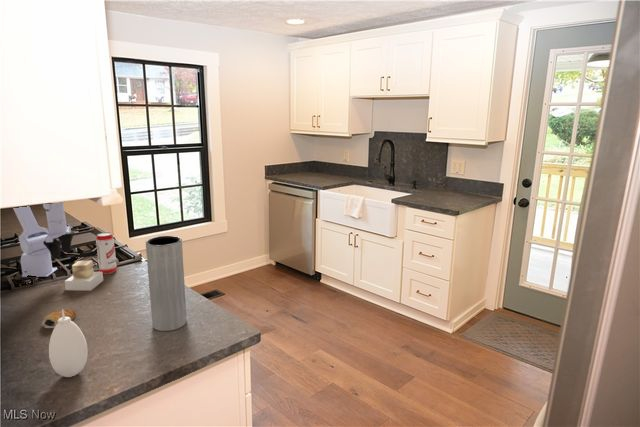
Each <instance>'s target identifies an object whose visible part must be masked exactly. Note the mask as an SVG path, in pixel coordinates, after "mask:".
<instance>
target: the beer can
mask: <svg viewBox="0 0 640 427" xmlns="http://www.w3.org/2000/svg"><path fill="white" fill-rule="evenodd" d="M95 243H96V244H95V245H96V253H97V261H98V272H102V273H103V275H111V274H113V273H115V272H116V271H117V269H118V267H117V258H116V249H115V247H116V246H115V239H114V236H113V235H112V232H111V231H110V232H109V231H106V232H100V233H97V234H96V238H95Z"/></svg>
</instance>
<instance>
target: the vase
mask: <svg viewBox="0 0 640 427" xmlns="http://www.w3.org/2000/svg"><path fill="white" fill-rule="evenodd" d="M145 253H146V262H147V263H146V264H147V266H146V267H147V276H148V289H149V290H148V291H149V299H150V301H149V302H150V313H151V324H152V327H153V329H155V330H156V331H160V332H170V331H174V330H178V329H180V328H181V327H183V326H185V324H187V304H186V288H185V286H186V285H185V271H184V270H185V269H184V253H183V240H182V238H181V237H180V236H175V235H160V236H159V235H158V236H154V237H151V238H149V239H147V240H146V241H145Z"/></svg>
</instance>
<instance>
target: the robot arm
mask: <svg viewBox="0 0 640 427" xmlns="http://www.w3.org/2000/svg"><path fill="white" fill-rule="evenodd" d="M42 207H43V209H45V214H46V219H47V220H46V221H47V228H48V229H47V228H45V227H43V226H40V225H39V224H38V221H37V220H36V218H35V216H34V213H33V211H32V209H31V207H30V205H29V206H27V207H19V208H13V207H12V209H13V211H14V213H15V216H16V217H17V219H18V221H19V224H20V226H21V227H22V230H23V231H22V232H21V234H20V235H19V236H18V241H19V243H20V244H19V246H20V249H21V251H22V252H23V253H22V254H21V255H20V256H21V257H20V266H21V273H22V275H21V277H22V278H28V277H27V276H28V275H32V276H36V277H35V278H37V277H38V278H39V277H49V276H50V275H52V274H54V272H56V271H57V270H58V267H53V263H52V259H53V260H59V259H60V258H61V249H62V251H63V253H69V252H70V251H71V246H72V245H71V244H72V241H73V237H74V236H75V232H74V231H73V232H72V230H71V229H72V228H71V226H68V225H67V220H66V219H67V218H66V211H65V206H64V202H60V203H53V204H43V203H42Z"/></svg>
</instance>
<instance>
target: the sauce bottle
mask: <svg viewBox="0 0 640 427" xmlns="http://www.w3.org/2000/svg"><path fill="white" fill-rule="evenodd" d="M61 310H62V318H60V319H58V324H57V325H56V326H55V328H53V330H52V332H51V335H50V338H49V345H48V357H49V362H50V364H51V367H52V369H53V370H54V371H55V372H56V374H58V375H59V376H61V377H65V378H71V377H72V376H73V377H75V376H77V375H78V374H80V372H81V371H82V370H83V369H84V367H85V365H86V363H87V360H88V343H87V340H86V337H85V335H84V333H83V331H82V330H81V329H80V328H79V327H80V326H78V325H77V323H75V322H74V321H73V320H72V321H71V318H70V317H65V314H64V310H65V309H64V308H62V309H61ZM73 377H72V378H73Z"/></svg>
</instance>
